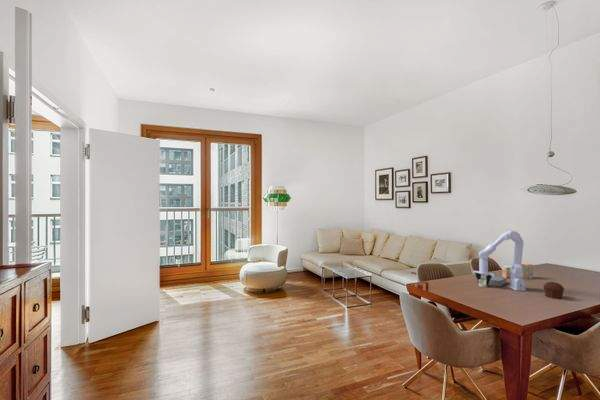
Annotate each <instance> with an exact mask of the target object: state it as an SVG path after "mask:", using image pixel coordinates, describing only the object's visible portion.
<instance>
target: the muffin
mask: <svg viewBox="0 0 600 400" xmlns="http://www.w3.org/2000/svg"><path fill="white" fill-rule="evenodd" d="M543 291H544V295H545V297H547V298H549V299H550V298H551V299H553V300H562V299H563V295H564V291H565V287H563V285H562V284H561V283H558V282H555V281H548V282H546V283H544V284H543Z"/></svg>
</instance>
